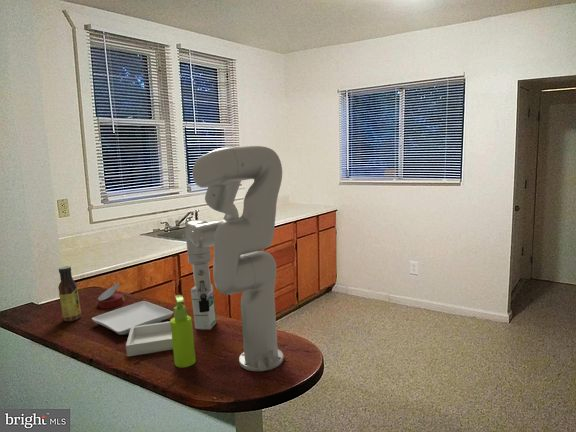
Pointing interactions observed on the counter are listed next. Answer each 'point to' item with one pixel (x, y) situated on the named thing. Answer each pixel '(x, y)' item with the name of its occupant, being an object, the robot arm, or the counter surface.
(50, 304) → the counter surface
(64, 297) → the sauce bottle
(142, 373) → the counter surface
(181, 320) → the soap dispenser
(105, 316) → the salad plate
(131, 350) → the tray
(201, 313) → the syrup box
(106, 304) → the canned food
